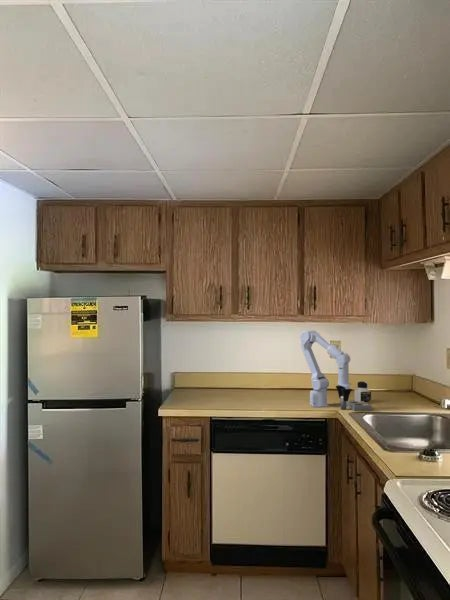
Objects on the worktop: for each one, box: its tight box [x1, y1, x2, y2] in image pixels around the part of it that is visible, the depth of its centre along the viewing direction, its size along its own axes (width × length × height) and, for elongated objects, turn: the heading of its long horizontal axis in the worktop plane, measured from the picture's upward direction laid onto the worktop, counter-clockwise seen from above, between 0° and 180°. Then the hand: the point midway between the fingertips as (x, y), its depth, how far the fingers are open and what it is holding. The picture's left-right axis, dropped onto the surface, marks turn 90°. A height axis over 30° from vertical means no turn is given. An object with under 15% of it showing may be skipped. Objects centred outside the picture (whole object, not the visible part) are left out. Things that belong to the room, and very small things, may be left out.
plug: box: [340, 396, 347, 411], centre depth 273 cm, size 3×3×7 cm
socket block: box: [346, 400, 373, 412], centre depth 276 cm, size 10×13×3 cm
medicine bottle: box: [354, 381, 372, 404], centre depth 293 cm, size 7×7×12 cm
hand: (343, 399), depth 273 cm, fingers open, 7 cm apart
